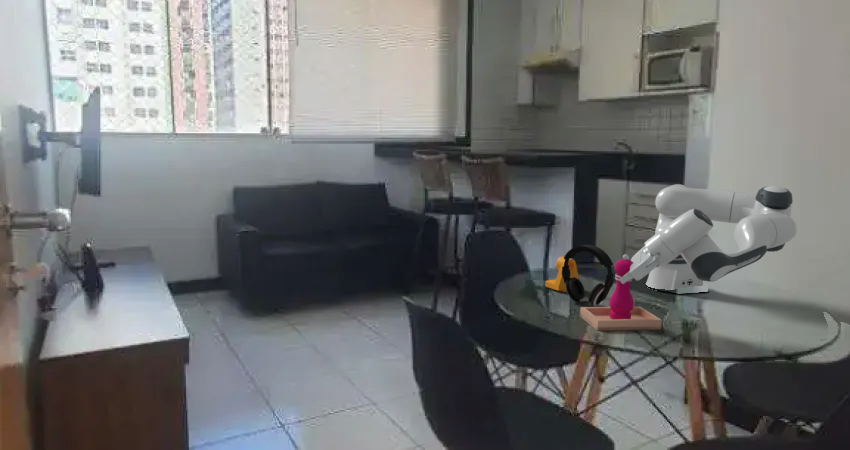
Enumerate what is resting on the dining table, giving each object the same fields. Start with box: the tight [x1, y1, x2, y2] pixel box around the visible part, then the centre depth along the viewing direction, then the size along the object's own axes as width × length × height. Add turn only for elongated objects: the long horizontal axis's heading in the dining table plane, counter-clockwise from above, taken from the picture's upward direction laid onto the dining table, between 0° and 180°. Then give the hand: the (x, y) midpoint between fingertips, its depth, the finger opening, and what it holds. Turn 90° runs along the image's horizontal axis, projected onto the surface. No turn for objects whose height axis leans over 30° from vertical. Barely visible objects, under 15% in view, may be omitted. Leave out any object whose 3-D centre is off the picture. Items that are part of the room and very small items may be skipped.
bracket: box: [544, 256, 580, 293], centre depth 218 cm, size 11×7×12 cm, turn 123°
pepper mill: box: [608, 253, 635, 319], centre depth 180 cm, size 7×7×20 cm
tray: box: [579, 306, 663, 331], centre depth 182 cm, size 20×13×3 cm, turn 98°
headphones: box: [562, 244, 615, 307], centre depth 199 cm, size 18×8×20 cm, turn 45°
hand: (621, 279), depth 180 cm, fingers closed on pepper mill, 5 cm apart
